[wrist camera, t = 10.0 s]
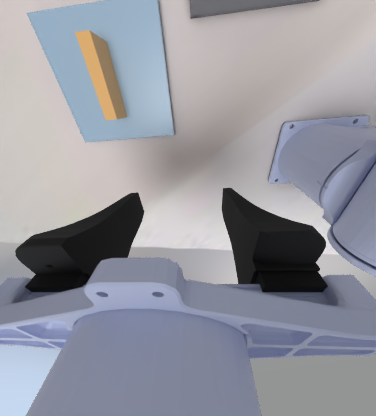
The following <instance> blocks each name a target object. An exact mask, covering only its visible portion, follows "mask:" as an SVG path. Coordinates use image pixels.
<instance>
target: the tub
mask: <svg viewBox="0 0 376 416" xmlns="http://www.w3.org/2000/svg"><path fill="white" fill-rule="evenodd" d="M312 1H319V0H190V12H191V18H198V17H205V16H212V15H219V14H227V13H234V12H241V11H248V10H255V9H262V8H269V7H276V6H284V5H291V4H298V3H305V2H312Z"/></svg>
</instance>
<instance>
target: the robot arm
mask: <svg viewBox="0 0 376 416" xmlns="http://www.w3.org/2000/svg"><path fill="white" fill-rule="evenodd" d="M354 120H355V122H354V123H353V121H354ZM369 120H370V116H367V115H363V116H351V117H339V118H327V119H315V120H303V121H291V122H285V123H284V124H283V126H282V129H281V133H280V137H279V141H278V144H277V148H276V152H275V156H274V160H273V164H272V168H271V172H270V176H269V179H268V181H269V183H271V184H274V183H293V184H294V185H295V186H296V187H297V188H299V189H300V190H301V191H302V192H303V193H305V194H306V195H307V196H308V197H310V198H311V199H312V200H313V201H314V202H316V203H317V204H318V205H319V206H320V207H322V208H323V209H324V215H323V218H324V219H325V220H326V221H327V222H328V223H329V224H330V225H331V227H330V228H329V230H328V233H327V237H328V240H329V242H330V244H331V245H332V247H333V248H334V249H335V250H336V251H337V252H338V253H339V254H340V255H341V256H342V257H343V258H345V259H346V260H347V261H349V262H350V263H351V264H353V265H354V266H356V267H358V268H360V269H361V270H363V271H365V272H367V273H370V274H371V275H374V276H376V127H370V126H366V125H367V124H368V122H369ZM292 124H293V126H292V128H290V125H292ZM275 179H277V180H276V181H275ZM222 213H223V218H224V222H225V225H226V228H227V231H228V234H229V237H230V241H231V244H232V249H233V254H234V260H235V265H236V271H237V277H238V284H210V283H205V282H199V281H194V280H188V279H184V277H183V273H182V270H181V268H180V267H179V265H178V264H177V263H176V262H174V261H172V260H170V259H167V258H160V257H145V258H128V254H129V251H130V248H131V245H132V242H133V240H134V238H135V236H136V233H137V231H138V229H139V227H140V224H141V222H142V218H143V215H144V210H143V207H142V203H141V200H140V197H139V194H138V193H130V194H128V195H127V196H125V197H123V198H122V199H120V200H118V201H117V202H115V203H114V204H112V205H110V206H109V207H107V208H105V209H104V210H102V211H100V212H98V213H96V214H94V215H92V216H90V217H88V218H85V219H83V220H80V221H78V222H75V223H73V224H70V225H67V226H64V227H61V228H58V229H55V230H51V231H47V232H43V233H40V234H36V235H33V236H31V237H30V238H29V239H28V240H26V241H25V242H24V243H23V244H21V245H20V246H19V247H18V248H17V249H16V251H15V252H16V257H17V258H18V259H19V260H20V261H21V262H22V263H23V264H24V265H25V266H26V267H28V268H29V269H30V270H31V271H33V272H34V273H35V274H36V275H35V276H34V277H33V278H32V279H29V278H7V279H6V280H5V281H4V282H3V283H2V284H1V285H0V345H10V346H26V347H38V348H48V349H57V350H61V351H60V353H59V355H58V357H57V359H56V361H55V363H54V365H53V367H52V368H51V370H50V372H49V374H48V376H47V377H46V379H45V381H44V383H43V385H42V387H41V389H40V391H39V392H38V394H37V396H36V398H35V400H34V402H33V403H32V405H31V407H30V409H29V411H28V413H27V415H26V416H262V415H261V410H260V405H259V401H258V396H257V391H256V387H255V382H254V378H253V373H252V368H251V363H250V359H258V358H281V357H306V356H370V355H373V354H375V353H376V299H375V298H374V297H373V296H372V295H371V294H370V293H369V292H368V291H367V290H366V289H365V288H364V286H363V285H362V284H361V283H360V282H359V281H358V280H357V279H356V278H355V277H354V276H353V275H327V276H324V277H321V275H320V274H319V273H318V271H319V270H320V268H319V266H318V265H317V264H316V261H317V260H318V258H319V257H320V256H321V254H322V253H323V251H324V249H325V247H326V241H325V239H324V238H323V237H322V236H321V234H320V233H319V232H318V231H317V230H316V229H315V228H314V227H313V226H310V225H306V224H302V223H298V222H295V221H291V220H288V219H285V218H282V217H279V216H277V215H274V214H272V213H269V212H267V211H265V210H263V209H261V208H259V207H257V206H255V205H254V204H252V203H251V202H249V201H247V200H246V199H245V198H243V197H242V196H241V195H239V194H238V193H237V192H236V191H234V190H233V189H232V188H223V198H222Z"/></svg>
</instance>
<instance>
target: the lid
mask: <svg viewBox="0 0 376 416" xmlns="http://www.w3.org/2000/svg"><path fill="white" fill-rule="evenodd" d="M27 15H28V17H29V19H30V22H31V24H32V26H33V28H34V30H35V33H36V35H37V37H38V39H39V41H40V44H41V46H42V48H43V50H44V52H45V55H46V57H47V59H48V61H49V63H50V66H51V68H52V70H53V72H54V74H55V77H56V79H57V81H58V83H59V85H60V88H61V90H62V92H63V94H64V96H65V99H66V101H67V103H68V105H69V108H70V110H71V112H72V114H73V116H74V119H75V121H76V123H77V125H78V127H79V130H80V132H81V134H82V136H83V138H84V141H85V142H95V141H108V140H120V139H132V138H144V137H156V136H168V135H174V134H175V133H174V125H173V117H172V109H171V100H170V92H169V84H168V75H167V67H166V59H165V51H164V42H163V34H162V26H161V18H160V9H159V1H158V0H105V1H98V2H92V3H86V4H80V5H73V6H67V7H61V8H55V9H48V10H42V11H36V12H30V13H27Z"/></svg>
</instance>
